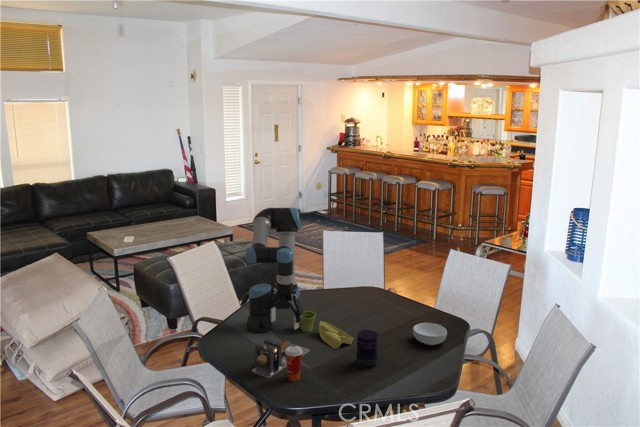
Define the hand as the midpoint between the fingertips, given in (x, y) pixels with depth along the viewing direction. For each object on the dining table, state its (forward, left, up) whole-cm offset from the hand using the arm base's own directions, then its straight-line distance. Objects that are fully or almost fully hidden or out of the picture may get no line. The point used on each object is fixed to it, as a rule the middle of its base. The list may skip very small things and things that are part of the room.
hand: (284, 324), depth 260 cm
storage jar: (+35, +18, -17) cm, 43 cm away
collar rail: (+1, -3, -17) cm, 17 cm away
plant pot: (-9, +32, -17) cm, 38 cm away
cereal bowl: (+50, +57, -17) cm, 78 cm away
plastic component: (+9, +31, -18) cm, 36 cm away
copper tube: (+1, -9, -13) cm, 15 cm away
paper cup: (+15, -12, -17) cm, 26 cm away
